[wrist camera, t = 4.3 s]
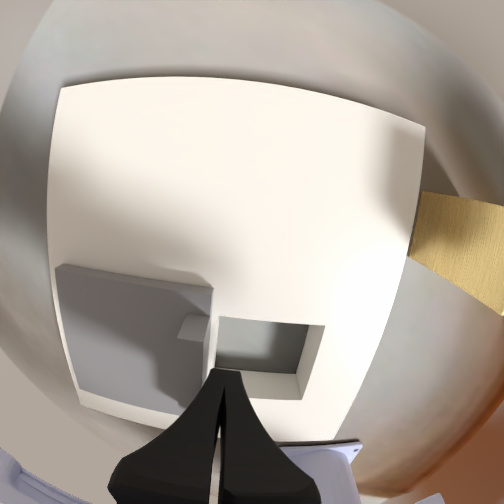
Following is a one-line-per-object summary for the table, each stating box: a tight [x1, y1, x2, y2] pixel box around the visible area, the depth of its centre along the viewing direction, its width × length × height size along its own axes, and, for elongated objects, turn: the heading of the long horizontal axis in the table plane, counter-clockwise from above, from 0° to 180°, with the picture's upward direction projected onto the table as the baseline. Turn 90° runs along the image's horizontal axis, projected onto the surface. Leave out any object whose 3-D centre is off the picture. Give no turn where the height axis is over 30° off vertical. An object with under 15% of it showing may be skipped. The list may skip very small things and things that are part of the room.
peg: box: [409, 191, 504, 315], centre depth 10 cm, size 4×4×8 cm
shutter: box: [55, 263, 214, 417], centre depth 12 cm, size 8×8×3 cm
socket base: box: [47, 77, 425, 442], centre depth 14 cm, size 20×18×2 cm
